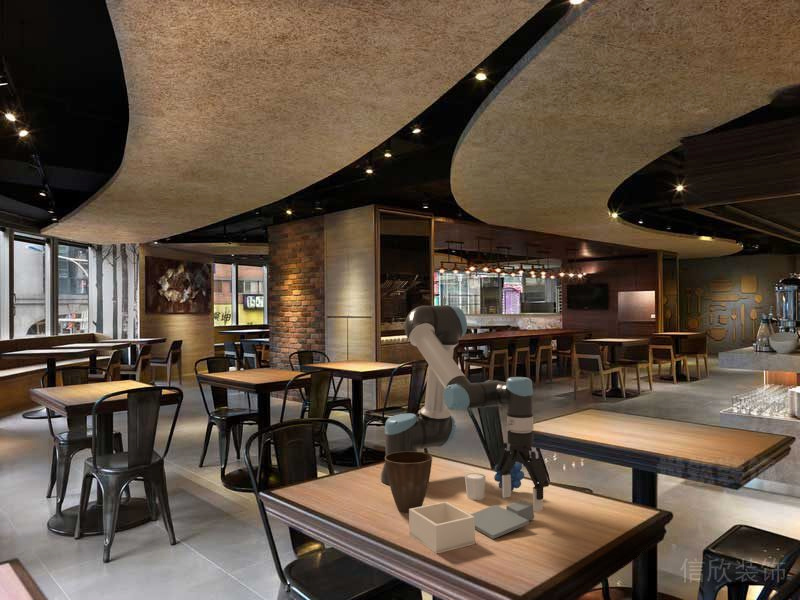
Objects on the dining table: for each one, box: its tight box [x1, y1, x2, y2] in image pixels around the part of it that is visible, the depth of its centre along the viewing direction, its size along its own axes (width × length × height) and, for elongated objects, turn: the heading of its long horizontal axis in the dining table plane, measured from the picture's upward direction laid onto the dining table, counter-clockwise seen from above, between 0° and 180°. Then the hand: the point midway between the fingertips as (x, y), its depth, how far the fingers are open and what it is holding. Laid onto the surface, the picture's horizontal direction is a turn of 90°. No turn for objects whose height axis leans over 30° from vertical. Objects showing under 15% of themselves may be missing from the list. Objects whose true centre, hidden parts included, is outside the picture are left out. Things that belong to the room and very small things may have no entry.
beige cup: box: [464, 472, 486, 501], centre depth 181 cm, size 7×7×7 cm
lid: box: [469, 499, 535, 540], centre depth 157 cm, size 15×19×4 cm
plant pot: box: [384, 451, 433, 513], centre depth 171 cm, size 15×15×16 cm
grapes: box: [493, 462, 525, 493], centre depth 187 cm, size 12×7×12 cm, turn 47°
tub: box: [408, 501, 476, 555], centre depth 147 cm, size 14×12×7 cm
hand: (521, 503), depth 161 cm, fingers open, 13 cm apart
